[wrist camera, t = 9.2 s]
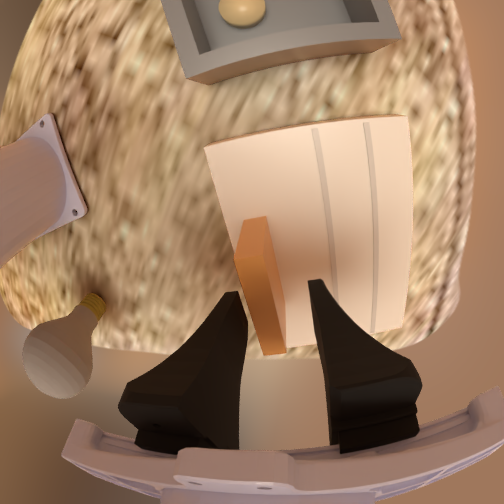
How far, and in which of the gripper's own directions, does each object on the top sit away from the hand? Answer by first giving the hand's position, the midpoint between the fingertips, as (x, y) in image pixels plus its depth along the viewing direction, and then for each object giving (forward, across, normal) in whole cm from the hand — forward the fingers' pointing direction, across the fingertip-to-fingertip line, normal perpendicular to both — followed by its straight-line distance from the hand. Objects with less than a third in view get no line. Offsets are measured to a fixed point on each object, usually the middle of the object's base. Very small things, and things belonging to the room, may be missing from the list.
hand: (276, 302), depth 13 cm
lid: (+5, -3, 0) cm, 6 cm away
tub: (+5, -3, -17) cm, 18 cm away
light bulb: (+5, +15, +2) cm, 16 cm away
